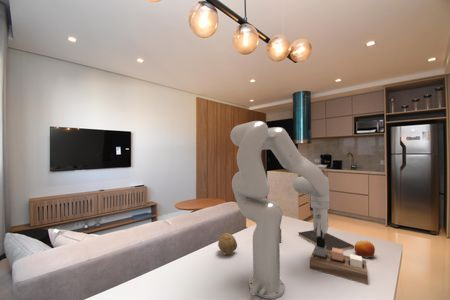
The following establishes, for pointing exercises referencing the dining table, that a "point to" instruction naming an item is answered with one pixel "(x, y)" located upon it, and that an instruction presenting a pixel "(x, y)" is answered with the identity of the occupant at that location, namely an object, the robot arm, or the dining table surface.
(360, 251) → the fruit
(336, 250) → the terracotta key
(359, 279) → the wooden key base
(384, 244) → the dining table surface
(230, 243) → the natural sponge
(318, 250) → the slate key
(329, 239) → the hardcover book
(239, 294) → the dining table surface
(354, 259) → the cream key
